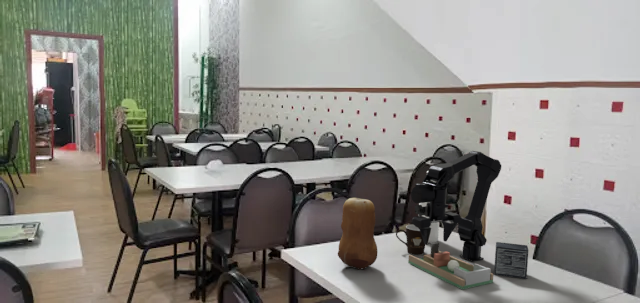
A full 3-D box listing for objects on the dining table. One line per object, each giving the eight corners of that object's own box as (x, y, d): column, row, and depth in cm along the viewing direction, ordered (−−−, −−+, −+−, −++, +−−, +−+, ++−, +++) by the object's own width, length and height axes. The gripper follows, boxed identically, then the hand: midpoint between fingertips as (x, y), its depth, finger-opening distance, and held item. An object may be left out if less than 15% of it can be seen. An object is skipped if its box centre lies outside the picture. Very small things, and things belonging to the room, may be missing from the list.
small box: (525, 273, 172) (527, 244, 171) (526, 279, 166) (529, 250, 165) (493, 269, 175) (496, 240, 174) (494, 275, 169) (496, 246, 168)
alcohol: (417, 242, 204) (421, 172, 201) (416, 236, 213) (420, 169, 210) (438, 244, 203) (443, 173, 199) (437, 238, 212) (441, 170, 208)
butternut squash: (369, 259, 181) (371, 194, 178) (382, 272, 168) (385, 202, 165) (333, 261, 178) (335, 194, 175) (343, 275, 165) (346, 203, 162)
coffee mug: (429, 251, 193) (431, 227, 192) (422, 257, 186) (423, 231, 185) (402, 246, 199) (403, 222, 198) (394, 251, 192) (395, 226, 191)
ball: (453, 268, 171) (453, 257, 171) (461, 272, 168) (462, 261, 167) (444, 270, 169) (445, 259, 169) (452, 274, 166) (453, 263, 166)
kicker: (434, 258, 181) (435, 240, 180) (449, 264, 174) (450, 245, 174) (422, 260, 178) (423, 242, 177) (436, 267, 172) (437, 248, 171)
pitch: (437, 257, 186) (437, 245, 185) (492, 282, 162) (493, 268, 162) (408, 262, 179) (408, 249, 178) (462, 289, 156) (463, 274, 155)
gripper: (441, 194, 186) (439, 234, 188) (403, 198, 177) (401, 239, 179) (463, 200, 176) (460, 242, 178) (423, 204, 167) (421, 248, 169)
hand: (435, 242), depth 176 cm, fingers open, 9 cm apart
